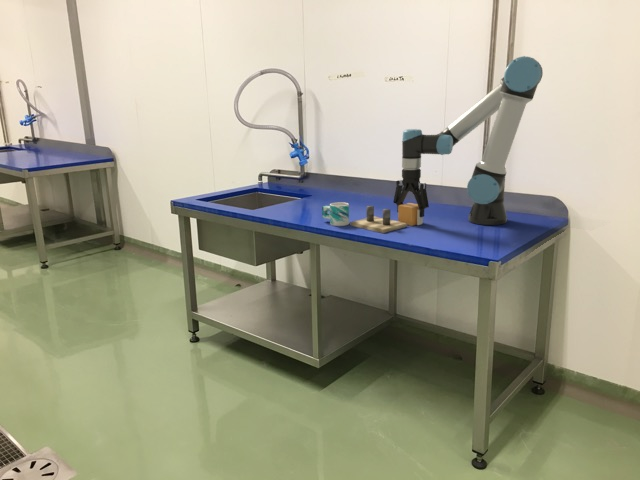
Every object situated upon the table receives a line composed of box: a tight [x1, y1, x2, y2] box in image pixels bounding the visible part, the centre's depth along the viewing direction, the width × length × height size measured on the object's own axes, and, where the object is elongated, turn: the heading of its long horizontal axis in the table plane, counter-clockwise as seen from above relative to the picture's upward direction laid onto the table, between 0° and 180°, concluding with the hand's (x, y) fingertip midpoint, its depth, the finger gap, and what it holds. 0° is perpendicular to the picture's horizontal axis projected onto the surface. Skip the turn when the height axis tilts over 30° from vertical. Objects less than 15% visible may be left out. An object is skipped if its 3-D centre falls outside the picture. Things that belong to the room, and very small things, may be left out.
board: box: [349, 205, 408, 234], centre depth 216 cm, size 18×14×8 cm
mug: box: [321, 201, 350, 227], centre depth 224 cm, size 8×12×8 cm
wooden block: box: [397, 202, 419, 227], centre depth 220 cm, size 7×7×8 cm
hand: (410, 222), depth 221 cm, fingers open, 9 cm apart
